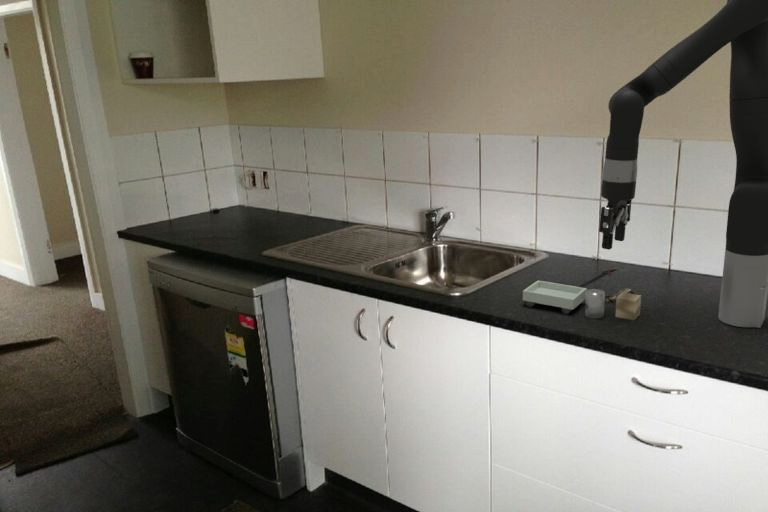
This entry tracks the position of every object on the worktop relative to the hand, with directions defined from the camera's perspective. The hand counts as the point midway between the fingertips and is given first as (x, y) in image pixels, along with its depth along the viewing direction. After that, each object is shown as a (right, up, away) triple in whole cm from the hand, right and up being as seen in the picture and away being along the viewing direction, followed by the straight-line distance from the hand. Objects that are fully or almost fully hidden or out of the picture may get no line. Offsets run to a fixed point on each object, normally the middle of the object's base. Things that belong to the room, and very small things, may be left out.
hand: (613, 244), depth 155 cm
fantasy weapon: (+8, -12, +24) cm, 28 cm away
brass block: (+5, -17, +3) cm, 18 cm away
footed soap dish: (-11, -15, +12) cm, 22 cm away
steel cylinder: (-3, -17, +4) cm, 18 cm away
